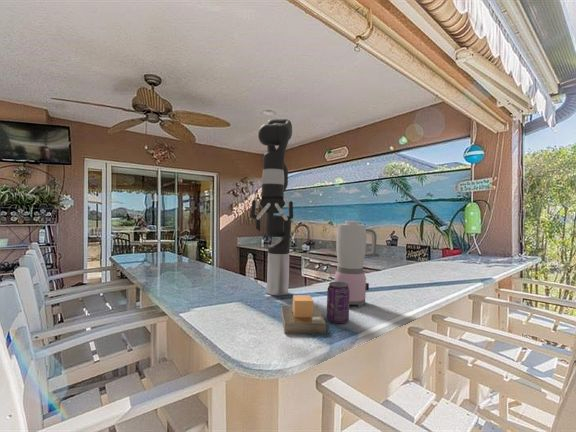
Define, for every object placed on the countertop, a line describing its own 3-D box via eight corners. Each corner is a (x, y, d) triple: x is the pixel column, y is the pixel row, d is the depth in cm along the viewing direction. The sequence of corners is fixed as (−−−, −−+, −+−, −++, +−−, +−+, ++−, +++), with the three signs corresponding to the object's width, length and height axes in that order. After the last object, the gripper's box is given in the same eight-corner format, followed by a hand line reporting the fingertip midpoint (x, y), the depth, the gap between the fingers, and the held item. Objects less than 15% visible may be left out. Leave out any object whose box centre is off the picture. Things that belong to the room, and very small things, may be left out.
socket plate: (281, 314, 101) (281, 303, 101) (316, 314, 102) (316, 304, 102) (284, 333, 86) (284, 321, 85) (325, 333, 86) (326, 321, 86)
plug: (292, 318, 97) (292, 295, 97) (309, 318, 97) (310, 295, 97) (294, 325, 91) (294, 300, 91) (312, 325, 91) (313, 300, 91)
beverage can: (333, 315, 102) (334, 280, 102) (352, 320, 98) (353, 283, 98) (322, 320, 97) (323, 283, 97) (341, 326, 92) (343, 287, 92)
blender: (332, 306, 112) (334, 220, 112) (333, 297, 124) (336, 220, 124) (375, 309, 109) (378, 222, 109) (373, 300, 121) (375, 221, 121)
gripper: (292, 185, 106) (291, 231, 106) (252, 183, 105) (251, 230, 105) (295, 183, 98) (293, 232, 99) (251, 181, 97) (250, 231, 97)
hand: (271, 231), depth 102 cm, fingers open, 8 cm apart
